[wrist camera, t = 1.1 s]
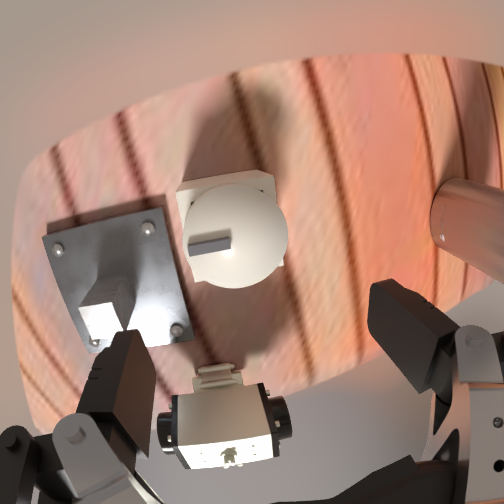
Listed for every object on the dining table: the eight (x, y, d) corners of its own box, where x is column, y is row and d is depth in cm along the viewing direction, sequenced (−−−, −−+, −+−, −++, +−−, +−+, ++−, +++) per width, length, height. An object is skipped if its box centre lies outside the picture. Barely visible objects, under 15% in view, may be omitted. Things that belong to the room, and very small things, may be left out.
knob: (256, 169, 23) (285, 179, 15) (265, 239, 26) (294, 280, 18) (181, 182, 23) (171, 198, 15) (195, 252, 25) (194, 300, 17)
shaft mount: (163, 205, 23) (151, 222, 17) (195, 333, 28) (196, 374, 22) (46, 234, 22) (13, 256, 16) (91, 347, 26) (75, 385, 21)
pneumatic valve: (161, 365, 28) (153, 457, 17) (267, 349, 30) (299, 438, 19) (173, 397, 30) (173, 482, 19) (270, 383, 32) (297, 465, 21)
